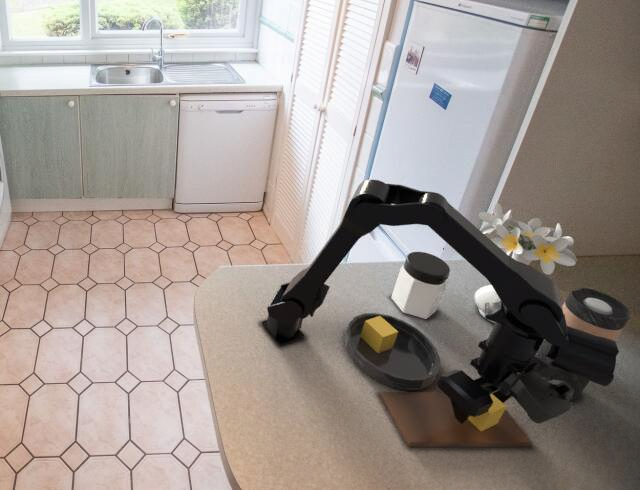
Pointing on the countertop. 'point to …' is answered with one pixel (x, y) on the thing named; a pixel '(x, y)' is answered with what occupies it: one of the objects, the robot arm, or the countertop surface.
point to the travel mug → (589, 325)
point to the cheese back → (379, 334)
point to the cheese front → (489, 415)
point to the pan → (394, 355)
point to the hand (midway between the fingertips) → (478, 412)
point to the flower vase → (524, 247)
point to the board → (445, 423)
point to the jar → (421, 284)
